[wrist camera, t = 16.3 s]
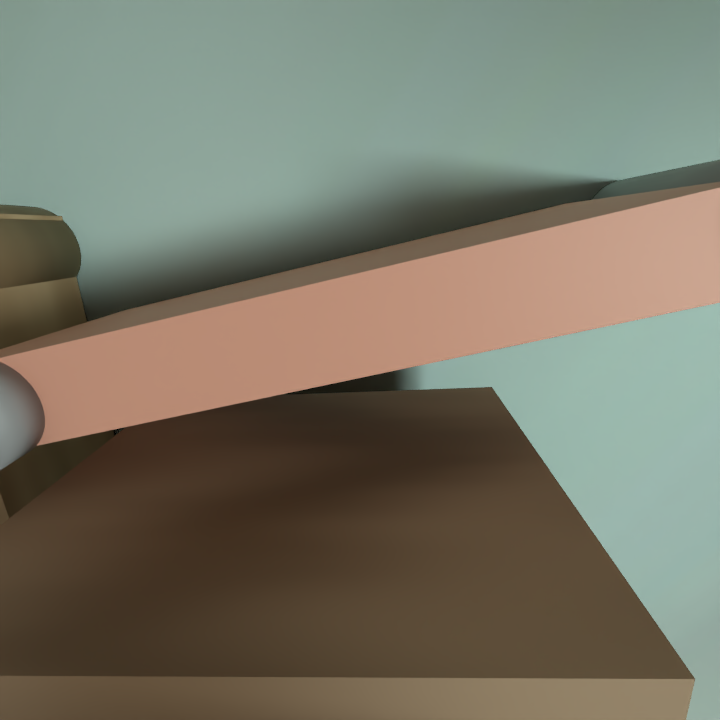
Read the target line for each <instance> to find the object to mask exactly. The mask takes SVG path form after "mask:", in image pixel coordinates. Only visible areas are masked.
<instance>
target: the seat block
mask: <svg viewBox="0 0 720 720" xmlns="http://www.w3.org/2000/svg"><path fill="white" fill-rule="evenodd" d="M694 682H695V678H694V677H693V675H692V674H691V673H690V671H689V670H688V668H687V667H686V665H685V664H684V663H683V661H682V660H681V658H680V657H679V655H678V654H677V652H676V651H675V650H674V648H673V647H672V645H671V644H670V642H669V641H668V640H667V638H666V637H665V635H664V634H663V632H662V631H661V630H660V628H659V627H658V625H657V624H656V622H655V621H654V619H653V618H652V617H651V615H650V614H649V612H648V611H647V609H646V608H645V607H644V605H643V604H642V602H641V601H640V599H639V598H638V597H637V595H636V594H635V592H634V591H633V589H632V588H631V586H630V585H629V584H628V582H627V581H626V579H625V578H624V576H623V575H622V574H621V572H620V571H619V569H618V568H617V566H616V565H615V564H614V562H613V561H612V559H611V558H610V556H609V555H608V553H607V552H606V551H605V549H604V548H603V546H602V545H601V543H600V542H599V541H598V539H597V538H596V536H595V535H594V533H593V532H592V531H591V529H590V528H589V526H588V525H587V523H586V522H585V520H584V519H583V518H582V516H581V515H580V513H579V512H578V510H577V509H576V508H575V506H574V505H573V503H572V502H571V500H570V499H569V497H568V496H567V495H566V493H565V492H564V490H563V489H562V487H561V486H560V485H559V483H558V482H557V480H556V479H555V477H554V476H553V475H552V473H551V472H550V470H549V469H548V467H547V466H546V464H545V463H544V462H543V460H542V459H541V457H540V456H539V454H538V453H537V452H536V450H535V449H534V447H533V446H532V444H531V443H530V442H529V440H528V439H527V437H526V436H525V434H524V433H523V431H522V430H521V429H520V427H519V426H518V424H517V423H516V421H515V420H514V419H513V417H512V416H511V414H510V413H509V411H508V410H507V409H506V407H505V406H504V404H503V403H502V401H501V400H500V398H499V397H498V396H497V394H496V393H495V391H494V390H493V388H492V387H484V388H456V389H429V390H401V391H373V392H345V393H317V394H289V395H276V396H271V397H267V398H262V399H257V400H252V401H248V402H243V403H238V404H233V405H229V406H224V407H219V408H214V409H209V410H205V411H200V412H195V413H190V414H186V415H181V416H176V417H171V418H167V419H162V420H157V421H152V422H147V423H143V424H138V425H133V426H128V427H126V428H124V429H123V430H122V431H120V432H119V433H118V434H117V435H115V436H114V437H113V438H112V439H110V440H109V441H108V442H106V443H105V444H104V445H103V446H101V447H100V448H99V449H97V450H96V451H95V452H94V453H92V454H91V455H90V456H88V457H87V458H86V459H85V460H83V461H82V462H81V463H79V464H78V465H77V466H76V467H74V468H73V469H72V470H71V471H69V472H68V473H67V474H65V475H64V476H63V477H62V478H60V479H59V480H58V481H56V482H55V483H54V484H53V485H51V486H50V487H49V488H47V489H46V490H45V491H44V492H42V493H41V494H40V495H38V496H37V497H36V498H35V499H33V500H32V501H31V502H30V503H28V504H27V505H26V506H24V507H23V508H22V509H21V510H19V511H18V512H17V513H15V514H14V515H13V516H12V517H10V518H9V519H8V520H6V521H5V522H4V523H3V524H1V525H0V720H686V717H687V712H688V708H689V703H690V699H691V695H692V690H693V686H694Z"/></svg>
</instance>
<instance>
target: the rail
mask: <svg viewBox="0 0 720 720" xmlns="http://www.w3.org/2000/svg"><path fill="white" fill-rule="evenodd" d="M715 303H720V160H716V161H711V162H706V163H701V164H696V165H692V166H687V167H682V168H677V169H672V170H667V171H662V172H658V173H653V174H648V175H643V176H638V177H633V178H628V179H624V180H619V181H616V182H613V183H611V184H609V185H607V186H605V187H604V188H603V189H601V190H600V191H599V192H598V193H597V194H596V195H595V196H594V198H593V199H592V200H587V201H580V202H573V203H566V204H562V205H557V206H553V207H549V208H545V209H541V210H537V211H533V212H528V213H524V214H520V215H516V216H512V217H508V218H504V219H499V220H495V221H491V222H487V223H483V224H479V225H475V226H471V227H466V228H462V229H458V230H454V231H450V232H446V233H442V234H437V235H433V236H429V237H425V238H421V239H417V240H413V241H408V242H404V243H400V244H396V245H392V246H388V247H384V248H380V249H375V250H371V251H367V252H363V253H359V254H355V255H351V256H346V257H342V258H338V259H334V260H330V261H326V262H322V263H318V264H313V265H309V266H305V267H301V268H297V269H293V270H289V271H284V272H280V273H276V274H272V275H268V276H264V277H260V278H255V279H251V280H247V281H243V282H239V283H235V284H231V285H227V286H222V287H218V288H214V289H210V290H206V291H202V292H198V293H193V294H189V295H185V296H181V297H177V298H173V299H169V300H164V301H160V302H156V303H152V304H148V305H144V306H140V307H136V308H131V309H127V310H124V311H120V312H117V313H114V314H111V315H108V316H105V317H101V318H98V319H95V320H92V321H89V322H86V323H82V324H79V325H76V326H73V327H70V328H66V329H63V330H60V331H57V332H54V333H51V334H47V335H44V336H41V337H38V338H35V339H32V340H28V341H25V342H22V343H19V344H16V345H13V346H9V347H6V348H3V349H0V470H1V469H3V468H5V467H6V466H8V465H9V464H11V463H12V462H14V461H16V460H17V459H19V458H20V457H22V456H23V455H25V454H27V453H28V452H30V451H31V450H32V449H34V448H35V447H36V446H38V445H43V444H47V443H52V442H57V441H62V440H66V439H71V438H76V437H81V436H86V435H90V434H95V433H100V432H105V431H109V430H114V429H119V428H124V427H128V426H133V425H138V424H143V423H147V422H152V421H157V420H162V419H167V418H171V417H176V416H181V415H186V414H190V413H195V412H200V411H205V410H209V409H214V408H219V407H224V406H229V405H233V404H238V403H243V402H248V401H252V400H257V399H262V398H267V397H271V396H276V395H281V394H286V393H290V392H295V391H300V390H305V389H310V388H314V387H319V386H324V385H329V384H333V383H338V382H343V381H348V380H352V379H357V378H362V377H367V376H372V375H376V374H381V373H386V372H391V371H395V370H400V369H405V368H410V367H414V366H419V365H424V364H429V363H433V362H438V361H443V360H448V359H453V358H457V357H462V356H467V355H472V354H476V353H481V352H486V351H491V350H495V349H500V348H505V347H510V346H515V345H519V344H524V343H529V342H534V341H538V340H543V339H548V338H553V337H557V336H562V335H567V334H572V333H577V332H581V331H586V330H591V329H596V328H600V327H605V326H610V325H615V324H619V323H624V322H629V321H634V320H638V319H643V318H648V317H653V316H658V315H662V314H667V313H672V312H677V311H681V310H686V309H691V308H696V307H700V306H705V305H710V304H715Z"/></svg>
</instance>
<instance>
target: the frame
mask: <svg viewBox="0 0 720 720" xmlns="http://www.w3.org/2000/svg"><path fill="white" fill-rule="evenodd" d="M80 265H81V253H80V248H79V244H78V242H77V239H76V237H75V235H74V233H73V232H72V230H71V229H70V228H69V226H68V225H67V224H66V223H65V222H64V221H63V219H62V216H57V215H55V214H53V213H52V212H50V211H48V210H45V209H42V208H37V207H26V206H11V205H0V349H3V348H6V347H9V346H13V345H16V344H19V343H22V342H25V341H28V340H32V339H35V338H38V337H41V336H44V335H47V334H51V333H54V332H57V331H60V330H63V329H66V328H70V327H73V326H76V325H79V324H82V323H86V322H87V319H86V315H85V311H84V306H83V302H82V298H81V294H80V290H79V286H78V281H77V275H78V273H79V270H80ZM113 437H114V431H113V430H109V431H105V432H100V433H95V434H90V435H86V436H81V437H76V438H71V439H66V440H62V441H57V442H52V443H47V444H43V445H38V446H36V447H35V448H34V449H32V450H31V451H30V452H28V453H27V454H25V455H23V456H22V457H20V458H19V459H17V460H16V461H14V462H12V463H11V464H9V465H8V466H6V467H5V468H3V469H1V470H0V525H1V524H3V523H4V522H5V521H6V520H8V519H9V518H10V517H12V516H13V515H14V514H15V513H17V512H18V511H19V510H21V509H22V508H23V507H24V506H26V505H27V504H28V503H30V502H31V501H32V500H33V499H35V498H36V497H37V496H38V495H40V494H41V493H42V492H44V491H45V490H46V489H47V488H49V487H50V486H51V485H53V484H54V483H55V482H56V481H58V480H59V479H60V478H62V477H63V476H64V475H65V474H67V473H68V472H69V471H71V470H72V469H73V468H74V467H76V466H77V465H78V464H79V463H81V462H82V461H83V460H85V459H86V458H87V457H88V456H90V455H91V454H92V453H94V452H95V451H96V450H97V449H99V448H100V447H101V446H103V445H104V444H105V443H106V442H108V441H109V440H110V439H112V438H113Z"/></svg>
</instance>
